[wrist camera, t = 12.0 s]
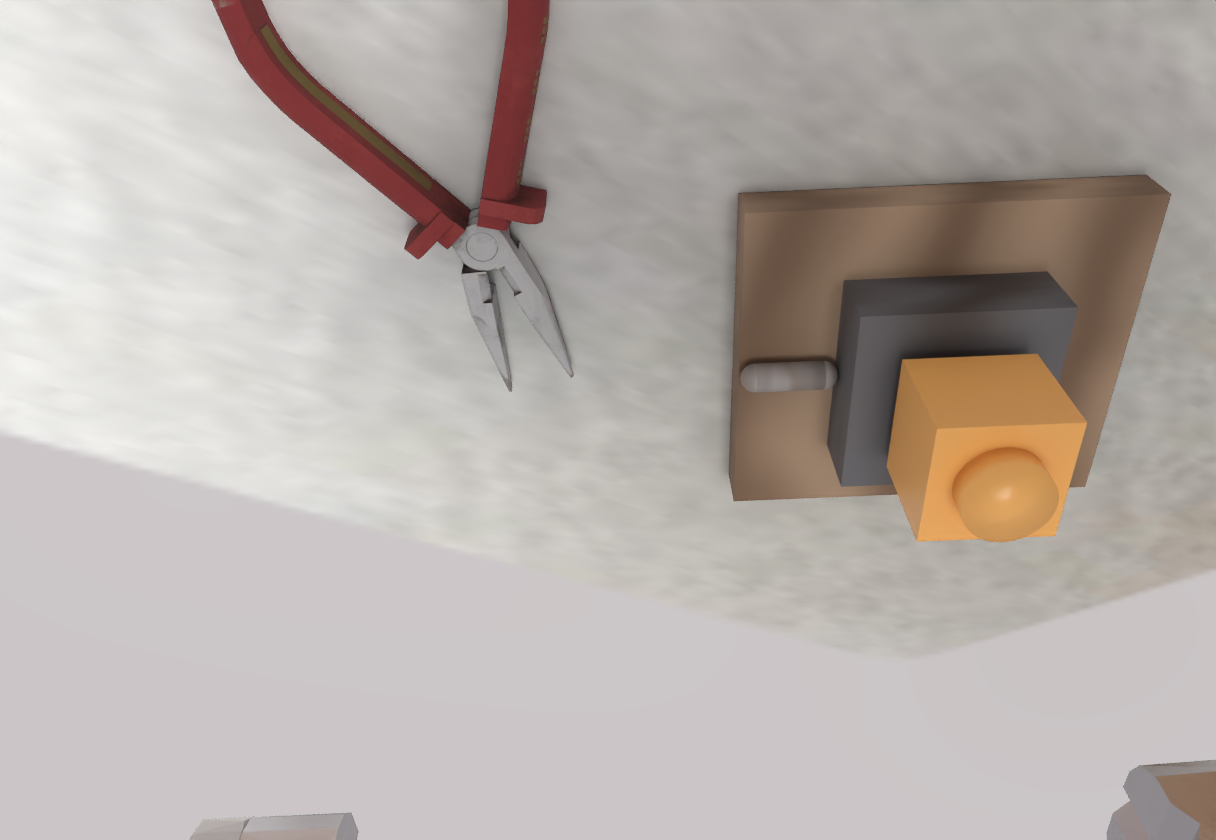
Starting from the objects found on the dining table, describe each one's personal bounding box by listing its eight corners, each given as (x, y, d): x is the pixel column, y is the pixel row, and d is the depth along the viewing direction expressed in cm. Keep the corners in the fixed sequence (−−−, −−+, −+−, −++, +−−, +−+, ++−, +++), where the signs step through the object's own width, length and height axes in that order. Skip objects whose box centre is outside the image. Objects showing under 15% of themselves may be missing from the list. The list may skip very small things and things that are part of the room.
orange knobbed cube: (1037, 353, 37) (1102, 443, 32) (1011, 461, 40) (1068, 558, 35) (902, 359, 37) (947, 449, 32) (886, 466, 40) (925, 564, 35)
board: (1146, 174, 39) (1286, 284, 31) (1067, 460, 47) (1163, 605, 39) (738, 193, 39) (775, 307, 31) (728, 474, 47) (756, 621, 39)
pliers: (423, 400, 45) (415, 433, 43) (194, -67, 34) (167, -55, 32) (667, 334, 43) (671, 365, 41) (508, -181, 32) (502, -175, 30)
